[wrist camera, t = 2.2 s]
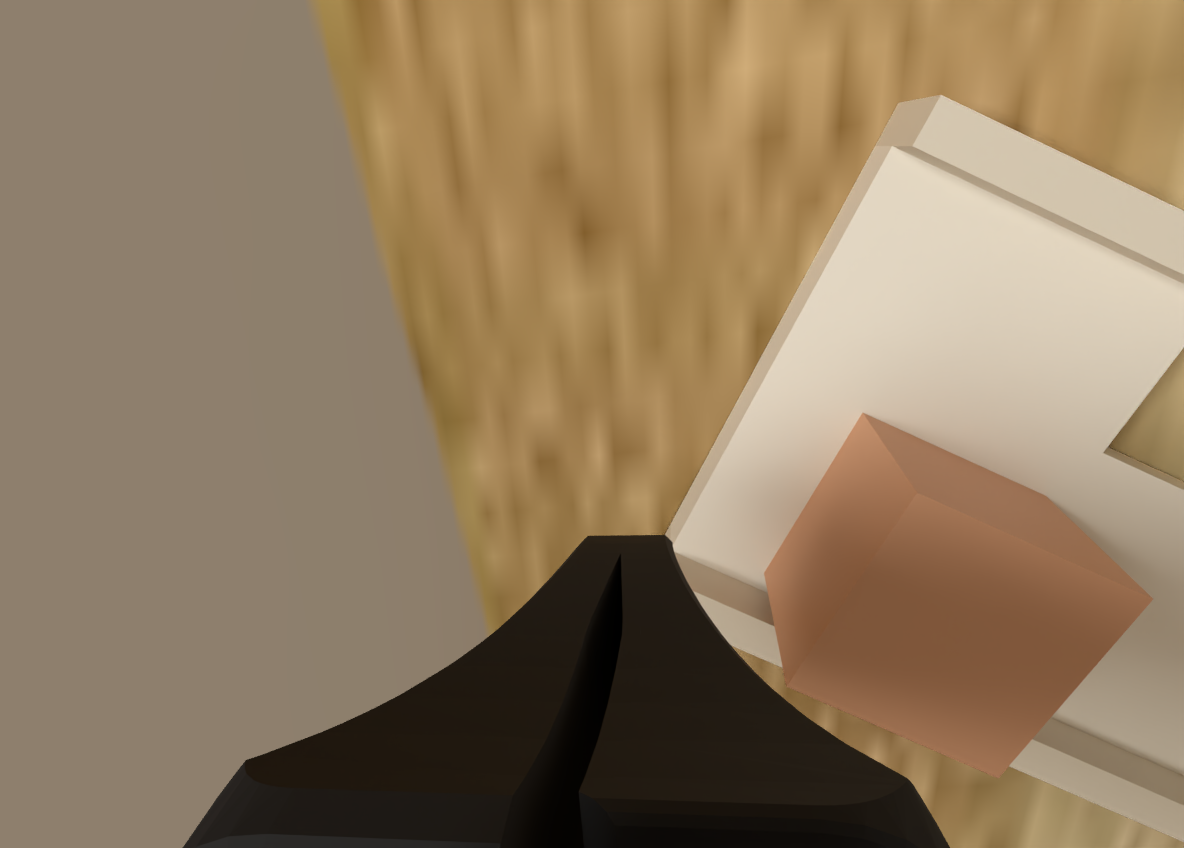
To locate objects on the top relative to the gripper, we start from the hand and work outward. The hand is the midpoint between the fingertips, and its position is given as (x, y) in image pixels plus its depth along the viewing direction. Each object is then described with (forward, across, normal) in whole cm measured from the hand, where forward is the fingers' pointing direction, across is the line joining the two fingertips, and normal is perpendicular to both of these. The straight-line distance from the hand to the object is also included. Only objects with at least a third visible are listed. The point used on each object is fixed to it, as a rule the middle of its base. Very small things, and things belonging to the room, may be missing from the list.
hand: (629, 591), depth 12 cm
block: (+8, -6, +3) cm, 10 cm away
